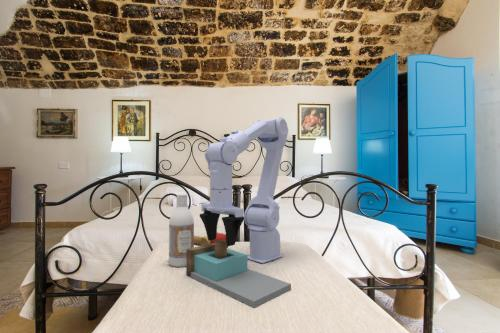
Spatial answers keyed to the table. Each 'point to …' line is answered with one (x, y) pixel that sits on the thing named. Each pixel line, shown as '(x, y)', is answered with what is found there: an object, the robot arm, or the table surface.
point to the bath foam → (180, 232)
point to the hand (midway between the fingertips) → (221, 242)
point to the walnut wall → (196, 251)
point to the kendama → (205, 240)
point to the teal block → (220, 264)
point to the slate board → (247, 286)
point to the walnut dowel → (220, 249)
